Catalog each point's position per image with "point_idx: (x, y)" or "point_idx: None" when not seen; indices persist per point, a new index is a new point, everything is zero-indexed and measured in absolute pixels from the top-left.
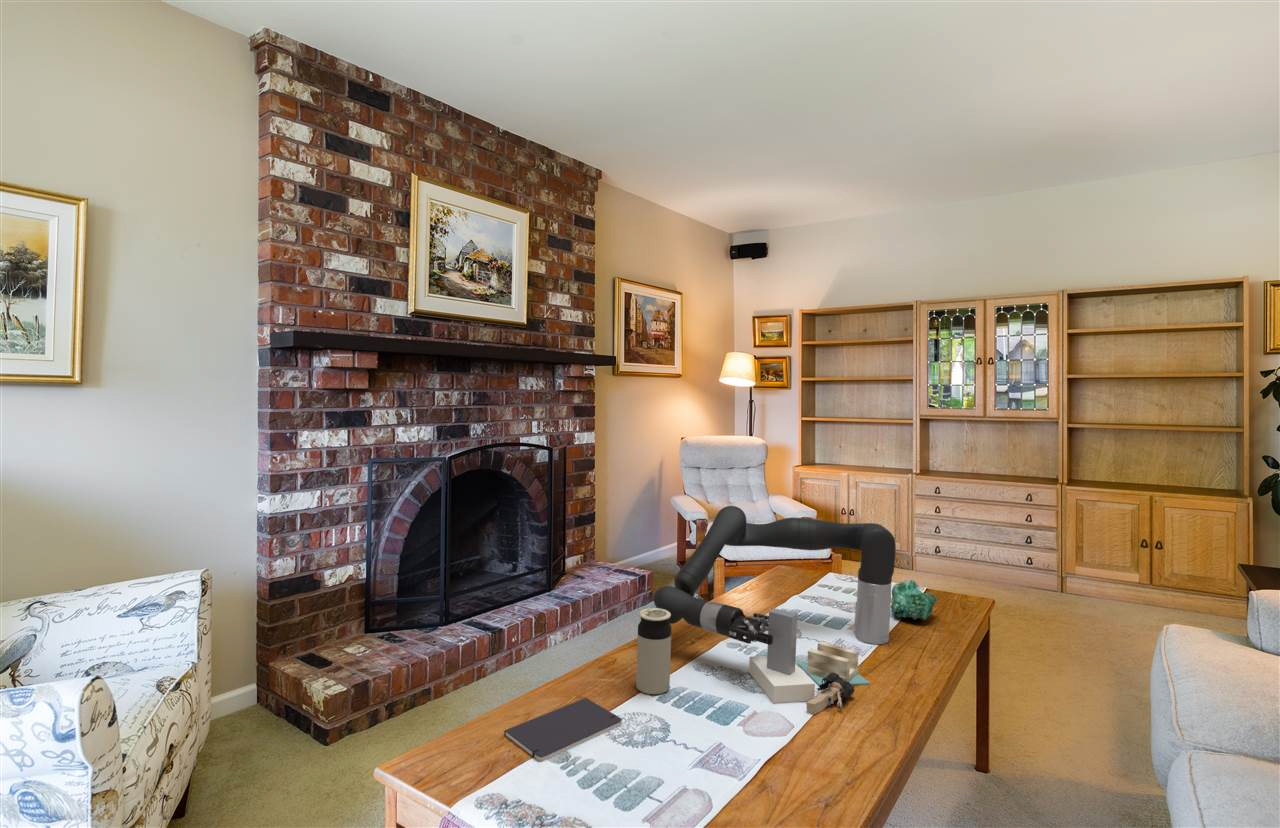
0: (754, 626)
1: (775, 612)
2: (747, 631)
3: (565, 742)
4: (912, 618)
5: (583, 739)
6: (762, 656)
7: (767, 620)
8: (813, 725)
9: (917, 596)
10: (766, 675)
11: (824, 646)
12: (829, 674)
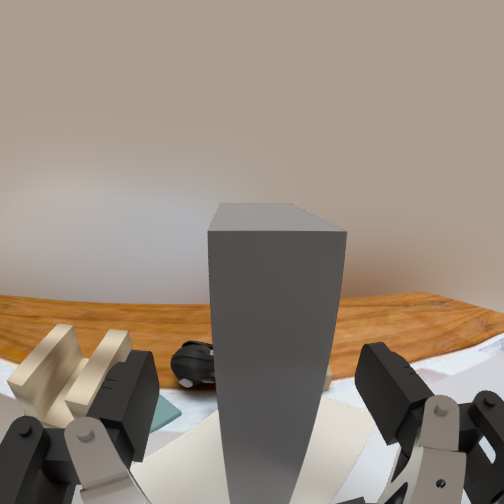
0: (359, 500)
1: (309, 220)
2: (490, 420)
3: None
4: None
5: None
6: None
7: (100, 467)
8: (356, 365)
9: None
10: (347, 468)
11: (34, 376)
12: (190, 361)
